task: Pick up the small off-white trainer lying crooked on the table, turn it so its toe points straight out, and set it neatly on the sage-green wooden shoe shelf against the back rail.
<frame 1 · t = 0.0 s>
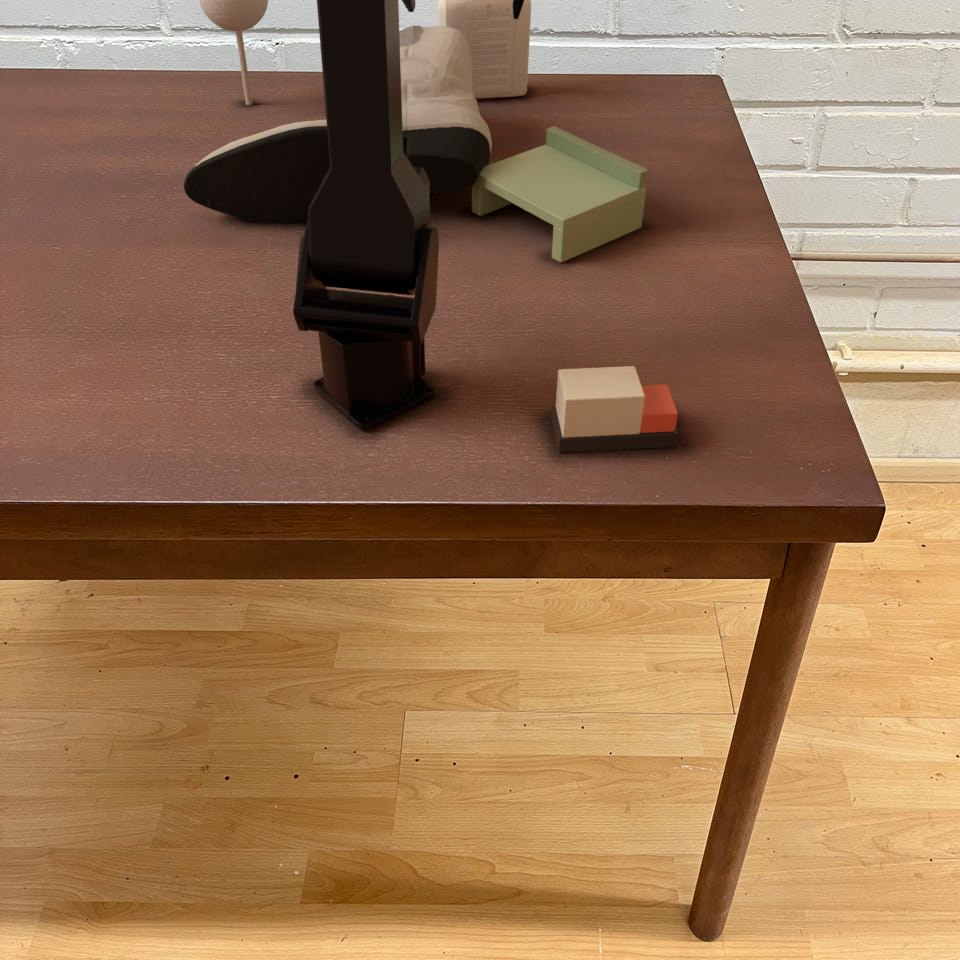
hand: (464, 12, 87), 15 cm above the table, tool pointing down, fingers open, 9 cm apart
lollipop: (249, 105, 111), on the table
trainer: (612, 433, 69), on the table
cowboy boot: (352, 155, 99), point 1 cm above the table, touching shoe shelf
white printed package: (483, 96, 114), on the table
shoe shelf: (555, 219, 92), on the table
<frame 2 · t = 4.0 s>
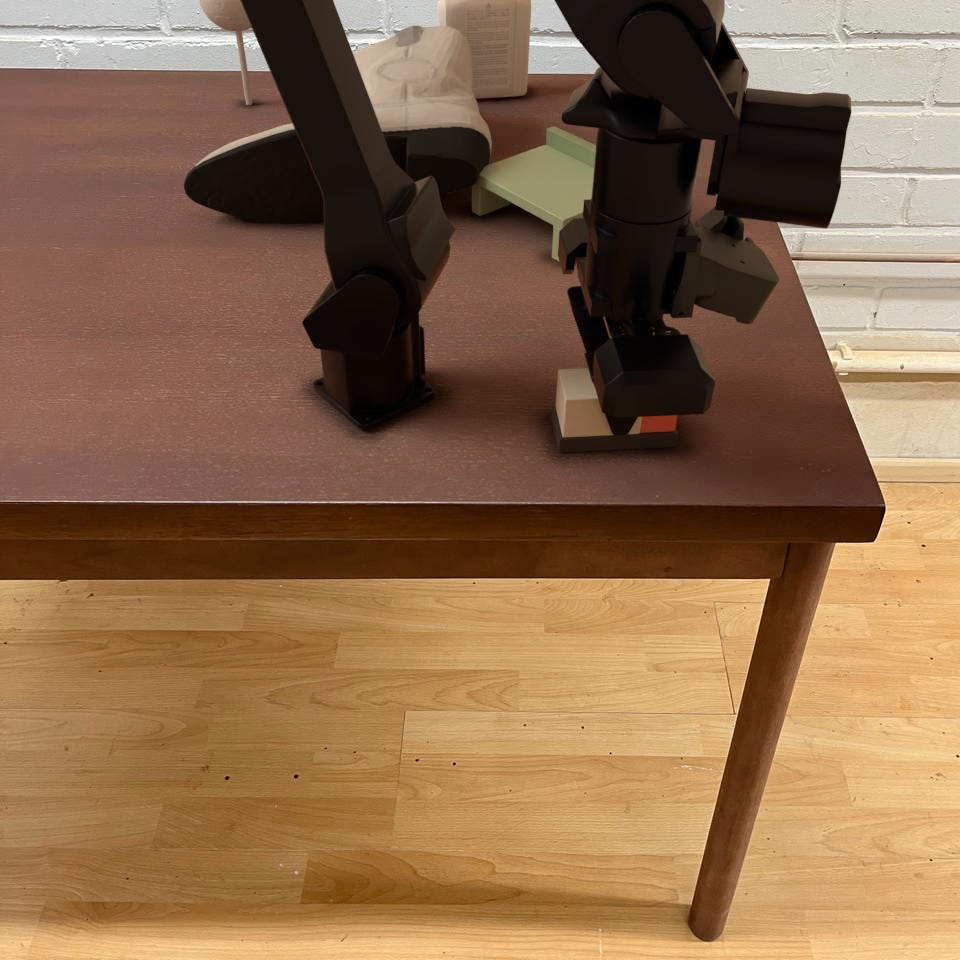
hand: (614, 416, 68), 2 cm above the table, tool pointing down, fingers closed on trainer, 3 cm apart
trainer: (612, 433, 69), on the table, touching gripper
everything else where it was.
when the fingers open (5 cm above the table, at t = 9.8 s): trainer stays where it is, resting on shoe shelf.
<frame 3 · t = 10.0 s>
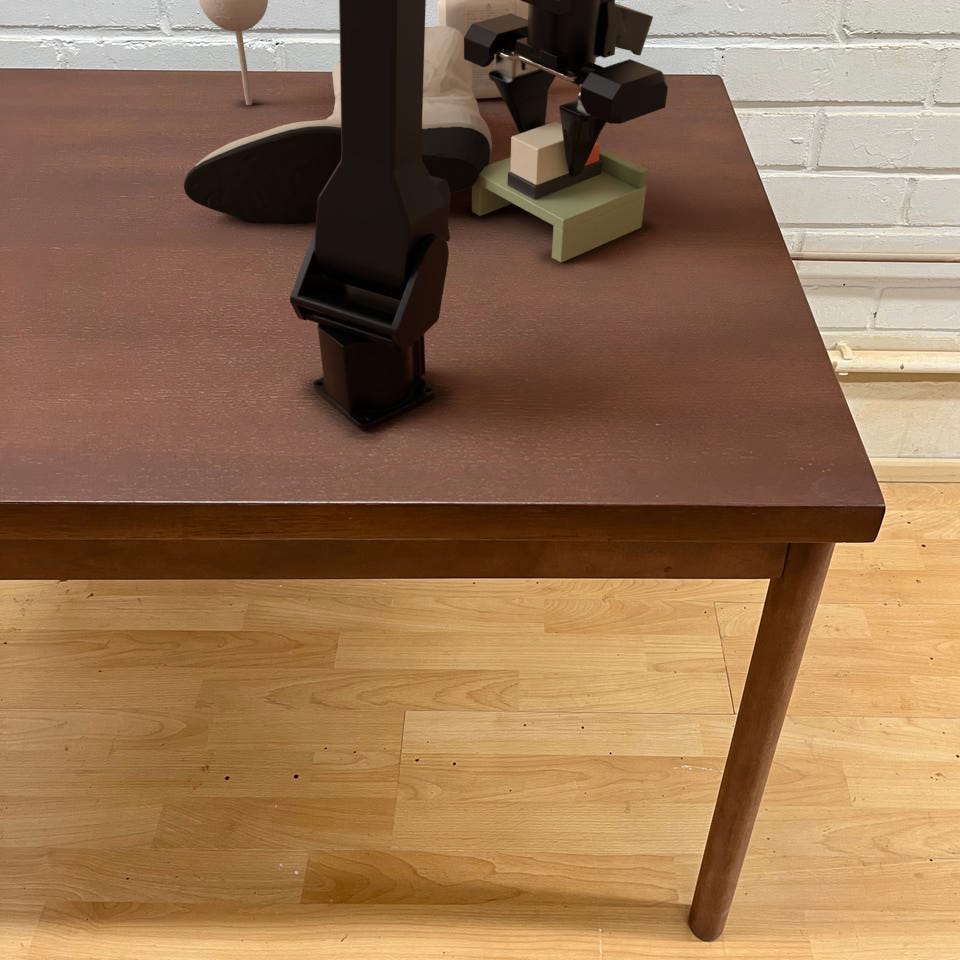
hand: (555, 165, 88), 5 cm above the table, tool pointing down, fingers open, 5 cm apart
trainer: (554, 179, 89), point 4 cm above the table, touching shoe shelf
everything else where it was.
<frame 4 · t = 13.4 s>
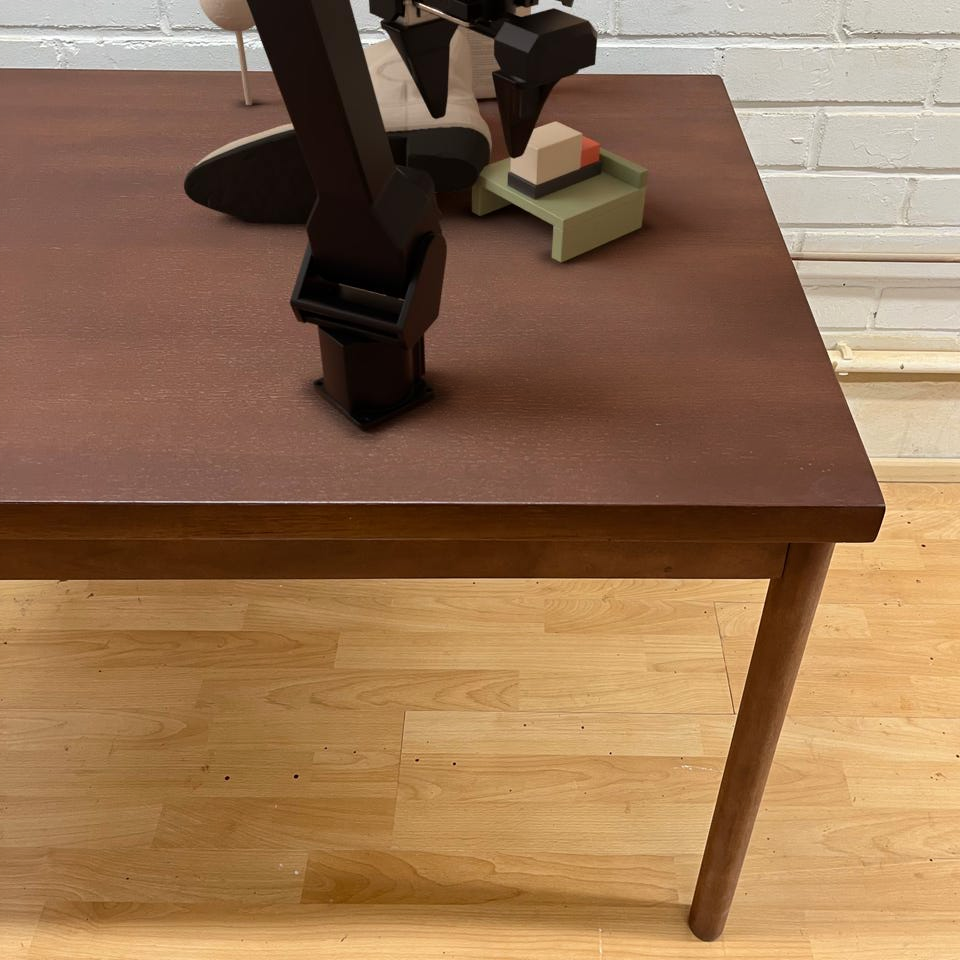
hand: (476, 136, 76), 12 cm above the table, tool pointing down, fingers open, 9 cm apart
nothing on the table moved.
at the end: trainer 0.0 cm off-centre on the shoe shelf, point 4.0 cm above the shoe shelf's base; trainer tilted 0°; the gripper is holding nothing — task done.
